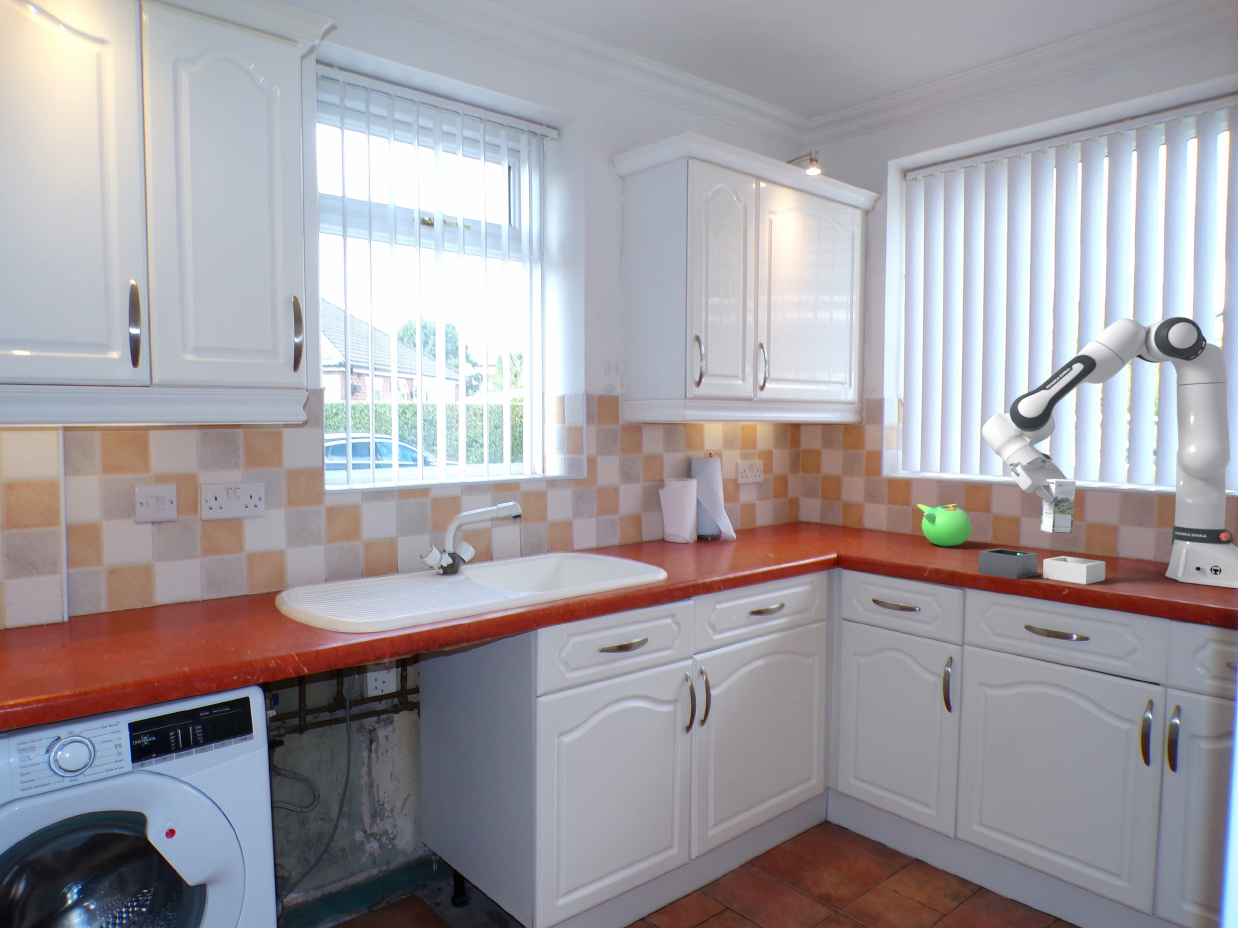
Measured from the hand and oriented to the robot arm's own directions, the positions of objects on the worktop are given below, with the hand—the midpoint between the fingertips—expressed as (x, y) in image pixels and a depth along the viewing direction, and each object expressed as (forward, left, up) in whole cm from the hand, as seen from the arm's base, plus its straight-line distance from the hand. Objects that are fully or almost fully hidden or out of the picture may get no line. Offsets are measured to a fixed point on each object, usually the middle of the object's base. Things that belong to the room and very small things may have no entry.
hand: (1060, 501), depth 219 cm
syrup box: (+1, 0, -9) cm, 9 cm away
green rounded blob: (+52, -29, -21) cm, 63 cm away
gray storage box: (+11, +6, -21) cm, 24 cm away
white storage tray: (-3, -2, -21) cm, 21 cm away
